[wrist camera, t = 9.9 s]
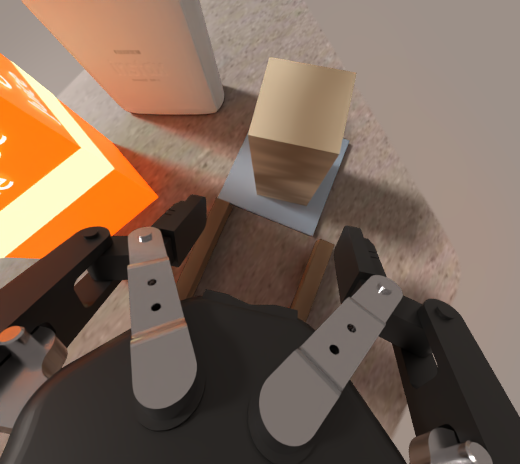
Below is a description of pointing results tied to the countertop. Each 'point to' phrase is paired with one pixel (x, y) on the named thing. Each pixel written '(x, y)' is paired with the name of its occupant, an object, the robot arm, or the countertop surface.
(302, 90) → the beech block
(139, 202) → the orange juice
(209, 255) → the channel
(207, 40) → the photo printer
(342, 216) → the countertop surface
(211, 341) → the robot arm
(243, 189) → the mat
